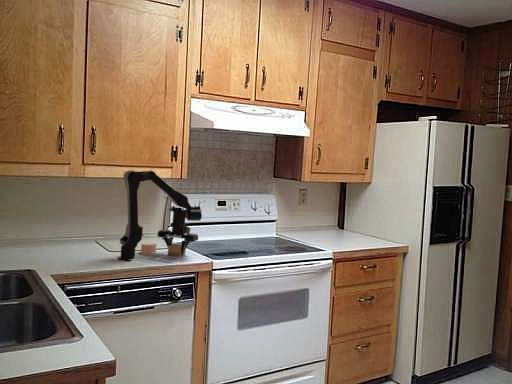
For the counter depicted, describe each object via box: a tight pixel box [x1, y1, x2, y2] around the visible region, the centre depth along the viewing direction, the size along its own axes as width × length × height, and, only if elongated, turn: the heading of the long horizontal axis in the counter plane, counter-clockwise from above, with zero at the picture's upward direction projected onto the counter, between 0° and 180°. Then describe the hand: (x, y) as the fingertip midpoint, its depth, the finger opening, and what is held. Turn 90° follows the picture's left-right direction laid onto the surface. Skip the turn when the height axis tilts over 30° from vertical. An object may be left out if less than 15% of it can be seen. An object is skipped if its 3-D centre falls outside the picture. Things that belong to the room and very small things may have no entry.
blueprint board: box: [146, 251, 190, 264], centre depth 225 cm, size 18×12×1 cm, turn 161°
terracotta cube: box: [140, 242, 157, 256], centre depth 231 cm, size 5×5×5 cm
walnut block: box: [167, 243, 187, 258], centre depth 230 cm, size 6×6×5 cm
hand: (176, 253), depth 230 cm, fingers closed on walnut block, 6 cm apart
